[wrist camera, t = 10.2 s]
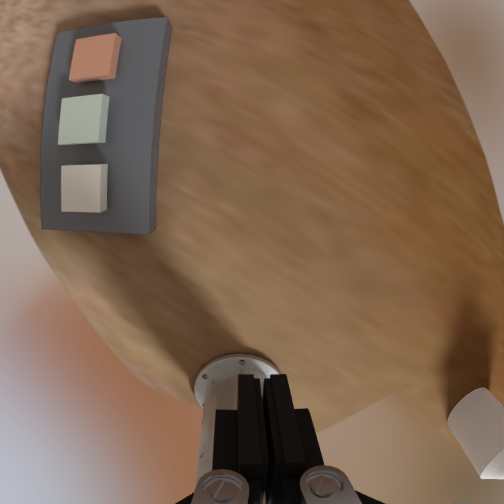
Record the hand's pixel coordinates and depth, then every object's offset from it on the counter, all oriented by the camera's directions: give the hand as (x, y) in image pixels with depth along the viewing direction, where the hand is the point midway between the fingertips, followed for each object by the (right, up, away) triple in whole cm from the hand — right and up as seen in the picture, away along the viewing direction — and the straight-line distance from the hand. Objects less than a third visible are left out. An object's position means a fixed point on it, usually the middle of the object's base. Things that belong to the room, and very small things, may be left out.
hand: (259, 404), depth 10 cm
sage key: (-17, +19, +17) cm, 30 cm away
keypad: (-17, +20, +21) cm, 34 cm away
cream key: (-18, +12, +19) cm, 29 cm away
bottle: (+45, -27, +38) cm, 65 cm away
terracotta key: (-17, +26, +16) cm, 34 cm away
